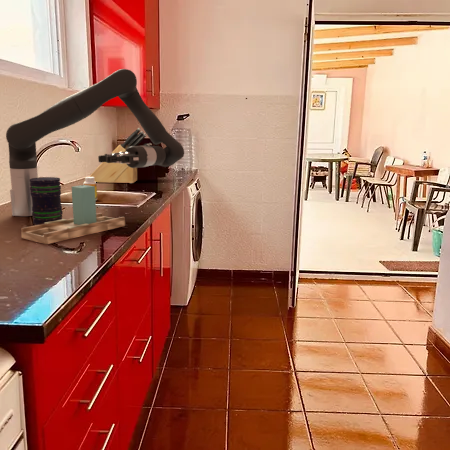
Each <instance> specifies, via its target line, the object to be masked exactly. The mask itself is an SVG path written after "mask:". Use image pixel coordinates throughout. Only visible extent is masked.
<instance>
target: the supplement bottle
mask: <svg viewBox="0 0 450 450" xmlns="http://www.w3.org/2000/svg"><path fill="white" fill-rule="evenodd" d="M97 183H98V182H97ZM97 183H96V182H95V179H94V177H89V176H85V177H84V182H83V184H82V185H89V186H95V201H97V200H98V186H97Z"/></svg>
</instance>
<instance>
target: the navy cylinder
mask: <svg viewBox="0 0 450 450" xmlns="http://www.w3.org/2000/svg"><path fill="white" fill-rule="evenodd" d="M30 186H31V187H30V190H31V193H30V194H31V196H32V211H33V212H32V220H33V221H32V224H33V225H40V224H45V222H51V221H56V220H61V219H63V208H62V207H63V206H62V203H61V202H62V201H61V195H62V192H61V191H62V186H61V178H60V177H55V176H54V177H53V176H50V177H49V176H44V177H43V176H42V177H41V176H40V177H38V178H32V179H30Z"/></svg>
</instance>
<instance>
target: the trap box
mask: <svg viewBox="0 0 450 450" xmlns="http://www.w3.org/2000/svg"><path fill="white" fill-rule="evenodd" d="M96 221H97V222H96V223H91V224H81V225H77V224H74V219H73V218H66V219H65V218H62V219H61V220H56V221H51V222H45V224H40V225H37V224H34V225H31V226H25V227H22V228H20V232H21V233H20V234H21V239H23V240H24V239H25V240H27V241H28V240H29V241H31V242H35V243H40V244H43V245H49V244H53V243H57V242H62V241H67V240H71V239H74V238H78V237H83V236H88V235H92V234H97V233H100V232H104V231H108V230H114V229H118V228H121V227H126V218H125V216H120V217H116V218H115V217H109V216H104V215H103V213H102V212H99V213H96Z"/></svg>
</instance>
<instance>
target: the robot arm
mask: <svg viewBox="0 0 450 450" xmlns="http://www.w3.org/2000/svg"><path fill="white" fill-rule="evenodd" d="M137 85H138V81H137V75H136V74H135V73H134V72H133V71H132V70H131V69H127V68H121V69H118V70H116V71H114V72H112V73H111V74H109V75H107V76H106V77H104V79H102V80H100V81H98V82H97V83H94V84H93V85H92V84H91V86H88V87H86V88H84V89H82V90H79V91H78V92H75V93H74V94H71V95H69V96H67V97H64V98H63V99H61V100H59V101H58V102H56V103H54V104H53V105H51V106H49V107H48V108H47V109H45V110H44V111H43V112H40V113H39V114H37V115H35V116H34V117H33V116H32V117H30V118H27V119H25V120H22V121H20V122H17V123H13V124H11V125H10V126H9V127H8V128H7V130H6V133H5V136H6V137H5V139H6V142H7V143H8V153H9V154H8V155H9V156H8V164H9V165H8V166H9V174H10V184H11V185H10V186H11V188H10V190H9V193H10V204H11V205H10V206H11V214H12V215H11V216H13V217H14V216H15V217H31V216H32V212H33V211H32V196H31V194H30V193H31V190H30V187H31V186H30V179H32V178H39V175H38V174H39V173H38V158H37V146H36V145H37V142H38V141H40V140H41V139H43V138H44V137H46V136H47V135H50V134H51V133H53V132H56V131H59V130H62V129H64V128H67V127H69V126H72V125H75V124H76V123H79V122H81V121H83V120H84V119H86V118H88V117H89V116H91V115H92V114H93V113H94V112H96V111H97V110H98V109H99V108H100V107H102V106H103V105H104V104H105V103H107V102H108V101H111V100H113V99H115V98H117V97H118V98H119V99H120V100H121V101H122V102H123V103H124V105H126V106H127V108H128V109H129V110H130V112H131V113H132V114H133V115H134V117H135V119H136V120H137V122H138V123H139V125H140V126H141V128H142V129H143V130H144V131H143V132H145V134H146V135H147V137H148V138H149V140H150V142H152V145H151V146H143V145H137V146H130V147H128V148H127V149H126V151H125V152H119V153H112V152H109V153H105V154H104V155H98V158H97V159H98V163H102V162H106V163H121V164H127V165H128V166H129V167H131V168H137V169H138V168H146V167H149V166H150V167H151V166H159V167H165V168H166V167H171V166H173V165H174V164H176V163H177V162H179V161H180V160H181V159H182V158H183V157H184V156H185V149H184V147H183V145H182V144H181V143H180V142H179V141H178V140H177V139H176V138H175V137H174V136H172V134H170V133H169V132H168V131H167V129H166V128H165V127H164V124H163V123H162V121H160V119H159V118H158V116H157V115H156V114H155V113H154V112H153V111H152V110H151V109H150V107H149V106H148V105H147V104H146V102H145V101H144V100H143V98H142V96H141V94H140V92H139V90H138V88H137V87H138V86H137ZM161 143H162V144H163V145H165V147H164V148H163V147H162V146H159V145H160V144H161ZM32 217H33V216H32Z"/></svg>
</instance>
